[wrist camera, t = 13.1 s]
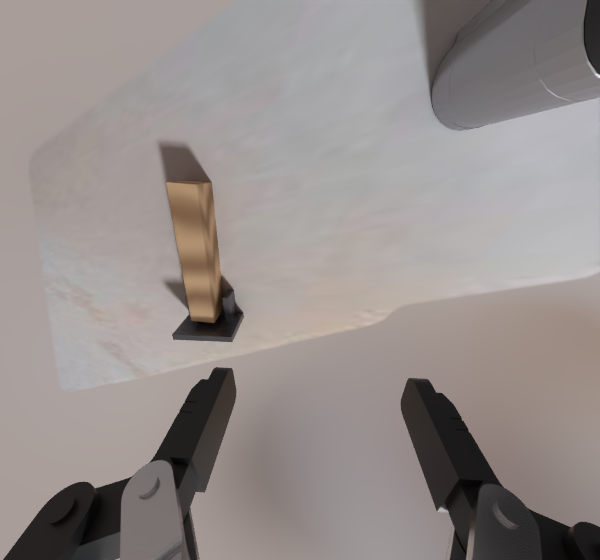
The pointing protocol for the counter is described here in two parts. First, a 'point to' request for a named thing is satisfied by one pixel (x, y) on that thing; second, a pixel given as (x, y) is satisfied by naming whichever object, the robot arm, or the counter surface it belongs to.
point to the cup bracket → (212, 324)
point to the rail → (197, 247)
